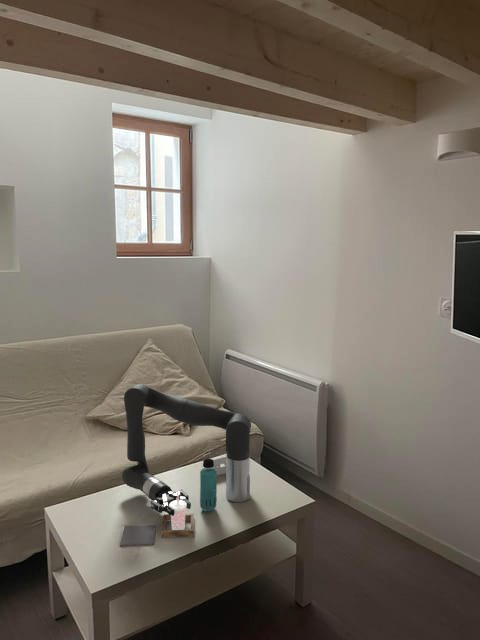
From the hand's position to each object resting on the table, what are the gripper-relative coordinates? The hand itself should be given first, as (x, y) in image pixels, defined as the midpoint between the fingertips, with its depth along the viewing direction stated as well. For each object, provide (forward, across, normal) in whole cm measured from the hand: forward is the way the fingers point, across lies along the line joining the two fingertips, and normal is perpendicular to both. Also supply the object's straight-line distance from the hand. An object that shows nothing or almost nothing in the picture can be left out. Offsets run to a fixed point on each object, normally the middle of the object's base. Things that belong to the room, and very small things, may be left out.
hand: (181, 509), depth 171 cm
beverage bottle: (-5, +15, +8) cm, 18 cm away
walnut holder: (-2, 0, +8) cm, 8 cm away
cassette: (-25, +38, +8) cm, 46 cm away
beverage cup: (-2, 0, +8) cm, 9 cm away
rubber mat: (-7, -13, +8) cm, 17 cm away
